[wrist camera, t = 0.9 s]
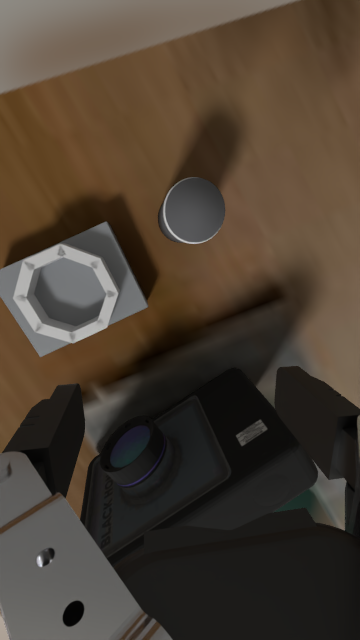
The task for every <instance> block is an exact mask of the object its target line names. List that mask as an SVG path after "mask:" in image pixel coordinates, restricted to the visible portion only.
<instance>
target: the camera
mask: <svg viewBox="0 0 360 640" xmlns="http://www.w3.org/2000/svg"><path fill="white" fill-rule="evenodd" d="M317 478H318V471H317V468H316V466H315V464H314V462H313V460H312V458H311V457H310V455H309V454H308V453H307V452H306V450H305V449H304V448H303V447H302V445H301V444H300V443H299V442H298V440H297V439H296V438H295V436H294V435H293V434H292V433H291V431H290V430H289V429H288V428H287V426H286V425H285V424H284V423H283V421H282V420H281V419H280V417H279V416H278V414H277V412H276V410H275V408H274V407H273V406H272V405H271V404H270V403H269V402H268V400H267V399H266V398H265V397H264V396H263V395H262V394H261V392H260V391H259V390H258V389H257V388H256V387H255V386H254V384H253V383H252V382H251V381H250V380H249V379H248V378H247V377H246V375H245V374H244V373H243V372H242V371H241V370H240V369H236V368H233V369H229V370H227V371H226V372H224V373H223V374H221V375H220V376H218V377H217V378H215V379H214V380H212V381H211V382H209V383H208V384H206V385H205V386H203V387H202V388H200V389H198V390H197V391H195V392H194V393H192V394H191V395H189V396H188V397H186V398H185V399H183V400H182V401H180V402H179V403H177V404H176V405H174V406H173V407H171V408H170V409H168V410H166V411H165V412H163V413H162V414H160V415H159V416H157V417H156V418H154V419H153V420H152V419H151V418H150V417H148V416H138V417H135V418H132V419H131V420H129V421H127V422H126V423H124V424H123V425H122V426H120V427H119V428H118V429H117V430H116V431H115V432H114V433H113V434H112V436H111V437H110V438H109V440H108V441H107V443H106V444H105V446H104V448H103V450H102V453H101V454H99V455H98V456H96V457H95V458H94V459H93V460H92V461H91V463H90V464H89V467H88V472H87V479H86V485H85V492H84V498H83V505H82V511H81V518H80V521H81V522H82V524H83V525H84V527H85V528H86V530H87V531H88V533H89V534H90V535H91V537H92V538H93V540H94V541H95V543H96V544H97V546H98V547H99V548H100V550H101V551H102V553H103V554H104V556H105V557H106V559H107V560H108V561H109V563H110V564H111V566H112V567H113V568H114V567H115V566H116V565H117V564H118V563H120V562H121V561H122V560H123V559H125V558H126V557H128V556H129V555H131V554H133V553H134V552H136V551H138V550H140V549H143V548H144V532H146V531H153V530H159V529H166V528H173V527H180V526H194V527H204V528H213V529H222V530H233V529H235V528H238V527H240V526H242V525H244V524H246V523H248V522H251V521H253V520H255V519H257V518H259V517H261V516H263V515H266V514H268V513H273V512H274V511H275V510H277V509H278V508H280V507H282V506H283V505H285V504H286V503H288V502H289V501H291V500H292V499H294V498H295V497H297V496H298V495H300V494H301V493H303V492H304V491H306V490H307V489H309V488H310V487H312V486H313V485H314V484H315V482H316V481H317Z"/></svg>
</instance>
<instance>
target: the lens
mask: <svg viewBox="0 0 360 640" xmlns="http://www.w3.org/2000/svg"><path fill="white" fill-rule="evenodd" d="M224 216H225V204H224V200H223V197H222V195H221V193H220V191H219V190H218V188H217V187H216V186H215V185H214V184H212V183H211V182H209V181H208V180H205V179H202V178H197V177H191V178H186V179H183V180H181V181H179V182H178V183H177V184H175V185H174V186H173V187H172V188H171V190H170V191H169V193H168V194H167V196H166V198H165V201H164V202H163V204H162V205H161V207H160V210H159V213H158V223H159V227H160V229H161V231H162V233H163V234H164V235H165V236H166V237H167V238H168V239H170V240H172V241H174V242H185V243H190V244H197V243H202V242H205V241H207V240H209V239H211V238H212V237H213V236H214V235H215V234H216V233H217V232H218V231H219V229H220V228H221V225H222V223H223V220H224Z"/></svg>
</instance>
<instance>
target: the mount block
mask: <svg viewBox="0 0 360 640" xmlns="http://www.w3.org/2000/svg"><path fill="white" fill-rule="evenodd" d="M0 296H1V298H2V300H3V301H4V303H5V304H6V306H7V307H8V309H9V310H10V312H11V313H12V315H13V316H14V318H15V319H16V321H17V322H18V324H19V325H20V327H21V328H22V330H23V331H24V333H25V334H26V336H27V337H28V339H29V340H30V342H31V343H32V345H33V347H34V348H35V350H36V351H37V353H38V354H39V356H40V357H41V356H44V355H46V354H48V353H50V352H52V351H54V350H57V349H59V348H61V347H63V346H65V345H67V344H70V343H75V342H77V341H79V340H82V339H84V338H86V337H88V336H90V335H92V334H94V333H97V332H99V331H101V330H103V329H105V328H107V326H108V325H110V324H113V323H115V322H117V321H119V320H121V319H123V318H126V317H128V316H130V315H132V314H134V313H136V312H138V311H141V310H143V309H145V308H147V307H148V303H147V300H146V298H145V296H144V294H143V292H142V290H141V288H140V286H139V284H138V281H137V279H136V277H135V275H134V273H133V271H132V269H131V267H130V265H129V263H128V261H127V259H126V257H125V255H124V253H123V251H122V249H121V247H120V244H119V242H118V240H117V238H116V236H115V234H114V232H113V230H112V228H111V226H110V224H109V223H108V222H104V223H102V224H99V225H97V226H95V227H93V228H91V229H88V230H86V231H84V232H82V233H80V234H77V235H75V236H73V237H71V238H69V239H66V240H64V241H62V242H60V243H58V244H55V245H53V246H51V247H49V248H47V249H44V250H42V251H40V252H38V253H36V254H33V255H31V256H29V257H27V258H25V259H22V260H20V261H18V262H16V263H14V264H11V265H9V266H7V267H5V268H3V269H0Z"/></svg>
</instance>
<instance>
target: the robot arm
mask: <svg viewBox="0 0 360 640" xmlns="http://www.w3.org/2000/svg"><path fill="white" fill-rule="evenodd" d="M275 409H276V412H277V414H278V416H279V417H280V419H281V420H282V421H283V423H284V424H285V425H286V426H287V428H288V429H289V430H290V431H291V433H292V434H293V435H294V436H295V438H296V439H297V440H298V442H299V443H300V444H301V445H302V447H303V448H304V449H305V450H306V452H307V453H308V454H309V455H310V457H311V458H312V459H313V461H314V462H315V463H316V464H317V466H318V467H319V468H320V469H321V471H322V472H323V473H324V474H325V476H326V477H327V478H328V479H329V480H331V479H338V478H345V480H346V481H347V482H346V488H345V531H344V530H342V529H339V528H336V527H333V526H330V525H325V524H321V523H315V522H314V520H313V519H312V517H311V515H310V514H309V512H308V511H307V509H306V508H301V509H294V510H287V511H281V512H274V513H268V514H266V515H263V516H261V517H259V518H257V519H255V520H253V521H251V522H248V523H246V524H244V525H242V526H240V527H238V528H235V529H233V530H222V529H213V528H204V527H194V526H180V527H173V528H166V529H159V530H153V531H146V532H144V548H143V549H140V550H138V551H136V552H134V553H133V554H131V555H129V556H128V557H126V558H125V559H123V560H122V561H121V562H120V563H118V564H117V565H116V566H115V567H114V568H113V567H112V566H111V564H110V563H109V561H108V560H107V559H106V557H105V556H104V554H103V553H102V551H101V550H100V548H99V547H98V546H97V544H96V543H95V541H94V540H93V538H92V537H91V535H90V534H89V533H88V531H87V530H86V528H85V527H84V525H83V524H82V522H81V521H80V520H79V518H78V517H77V515H76V514H75V512H74V511H73V509H72V508H71V507H70V505H69V504H68V502H67V501H66V499H65V498H66V495H67V492H68V488H69V485H70V481H71V478H72V475H73V471H74V468H75V464H76V461H77V458H78V454H79V451H80V447H81V444H82V441H83V437H84V432H85V418H84V410H83V403H82V395H81V388H80V385H79V384H67V385H58V386H57V387H56V389H55V391H54V392H53V394H52V396H51V398H50V399H44V400H42V401H40V402H39V403H38V404H36V405H35V406H34V407H32V408H31V410H30V411H29V413H28V414H27V416H26V417H25V419H24V420H23V422H22V423H21V425H20V427H19V428H18V429H17V431H16V433H15V434H14V436H13V437H12V439H11V440H10V442H9V443H8V445H7V446H6V448H5V449H4V451H3V452H2V453H1V454H0V610H1V614H2V617H3V620H4V624H5V627H6V630H7V634H8V637H9V640H360V409H359V408H358V407H356V406H355V405H354V404H353V403H351V402H350V401H349V400H347V399H346V398H345V397H343V396H341V394H339V393H338V392H337V391H336V390H334V389H333V388H332V387H330V386H329V385H328V384H326V383H325V382H323V381H321V380H319V379H316V378H314V377H312V376H310V375H309V374H308V373H306V372H305V371H304V370H303V369H301V368H300V367H299V366H291V367H280V368H278V370H277V376H276V389H275Z"/></svg>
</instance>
